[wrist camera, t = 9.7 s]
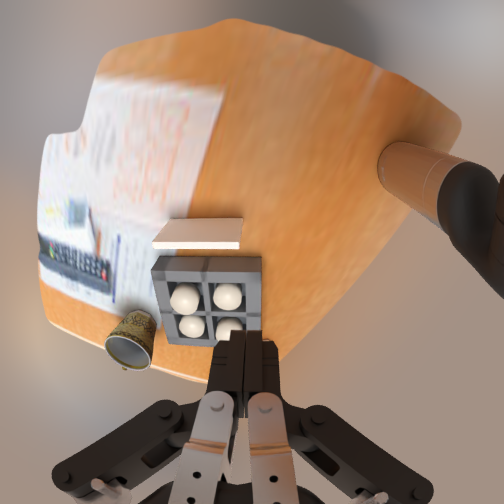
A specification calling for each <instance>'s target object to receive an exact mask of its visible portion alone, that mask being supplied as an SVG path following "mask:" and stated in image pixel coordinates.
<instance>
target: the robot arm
mask: <svg viewBox="0 0 504 504" xmlns="http://www.w3.org/2000/svg"><path fill="white" fill-rule="evenodd" d="M378 176H379V179H380V182H381V184H382V185H383V187H384V188H385V189H386V190H387V191H388V192H390V193H391V194H393V195H394V196H396V197H397V198H399V199H400V200H401V201H403V202H404V203H406V204H407V205H409V206H410V207H411V208H413V209H414V210H416V211H417V212H418V213H420V214H421V215H422V216H424V217H425V218H427V219H428V220H429V221H430V222H432V223H433V224H435V225H436V226H437V227H438V228H440V229H441V230H442V231H444V232H445V233H446V234H447V235H449V238H450V240H451V242H452V244H453V246H454V247H455V248H456V249H457V250H458V251H459V252H460V253H461V255H462V256H463V257H464V258H465V259H466V260H467V261H468V262H469V263H470V264H471V265H472V266H473V267H474V268H475V269H476V271H477V272H478V273H479V274H480V275H481V276H482V277H483V279H484V280H485V281H486V282H487V283H488V284H489V285H490V286H491V287H492V288H493V289H494V290H495V291H496V292H497V293H498V294H499V295H500V296H501V297H502V298H503V299H504V175H503V176H502V177H501V179H500V183H498V181H497V179H496V178H495V176H494V175H493V174H492V172H491V171H490V170H488V169H487V168H485V167H483V166H481V165H479V164H476V163H473V162H470V161H467V160H464V159H461V158H459V157H455V156H452V155H449V154H446V153H443V152H439V151H436V150H433V149H429V148H425V147H422V146H418V145H415V144H411V143H407V142H395V143H392V144H391V145H389V146H388V147H387V148H386V149H385V150H384V151H383V152H382V154H381V156H380V158H379V162H378ZM244 409H245V418H248V424H249V445H250V464H251V481H252V482H251V483H246V484H240V485H234V484H230V481H231V468H232V461H233V455H234V448H235V442H236V436H237V430H238V420H239V418H243V417H244ZM291 449H294V450H295V451H296V452H297V453H298V454H299V455H300V456H301V457H302V458H303V459H304V460H305V461H307V462H308V463H309V464H310V465H311V466H312V467H313V468H315V469H316V470H317V471H318V472H319V473H320V474H321V475H323V476H324V477H325V478H326V479H327V480H329V481H330V482H331V483H332V484H334V485H335V486H336V487H337V488H339V489H340V490H341V491H342V492H344V493H345V494H346V495H347V496H349V497H350V498H351V499H352V500H351V501H350V503H349V504H428V503H429V502H430V500H431V499H432V496H433V493H434V489H433V485H432V483H431V482H430V481H429V480H427V479H426V478H424V477H422V476H421V475H419V474H418V473H416V472H415V471H413V470H412V469H410V468H408V467H407V466H406V465H404V464H403V463H401V462H400V461H398V460H397V459H396V458H394V457H393V456H391V455H390V454H388V453H387V452H386V451H384V450H383V449H381V448H380V447H379V446H377V445H376V444H374V443H373V442H372V441H370V440H369V439H368V438H367V437H365V436H364V435H362V434H361V433H360V432H359V431H357V430H356V429H355V428H353V427H352V426H351V425H349V424H348V423H347V422H345V421H344V420H343V419H342V418H341V417H339V416H338V415H337V414H336V413H334V412H333V411H332V410H331V409H329V408H327V407H326V406H322V405H314V406H310V407H308V408H306V409H303V408H299V407H295V406H292V405H290V404H288V403H287V402H286V401H285V400H284V399H283V398H282V396H281V392H280V376H279V359H278V348H277V346H276V345H275V343H274V342H273V341H262V330H247V340H246V330H231V331H230V339H229V340H219V342H218V343H217V344H216V346H215V347H214V350H213V356H212V362H211V367H210V373H209V379H208V385H207V390H206V393H205V395H204V396H203V397H202V398H201V399H200V400H199V401H197V402H194V403H191V404H185V405H180V406H179V405H178V404H177V403H175V402H174V401H171V400H160V401H158V402H156V403H154V404H153V405H151V406H150V407H148V408H147V409H145V410H144V411H143V412H141V413H139V414H138V415H136V416H135V417H134V418H132V419H131V420H129V421H128V422H126V423H124V424H123V425H121V426H120V427H118V428H117V429H115V430H114V431H112V432H111V433H109V434H108V435H106V436H105V437H103V438H101V439H99V440H98V441H96V442H95V443H93V444H91V445H90V446H88V447H87V448H85V449H83V450H81V451H80V452H78V453H76V454H74V455H73V456H71V457H69V458H68V459H66V460H64V461H62V462H60V463H59V464H57V465H56V466H55V467H54V468H53V470H52V480H53V482H54V484H55V485H56V487H57V488H59V489H60V490H62V491H64V492H66V493H68V494H69V495H71V496H72V497H73V498H74V500H75V501H76V503H77V504H130V502H131V499H132V496H131V492H130V490H131V489H133V488H134V487H136V486H137V485H139V484H140V483H142V482H143V481H145V480H146V479H148V478H149V477H151V476H152V475H153V474H155V473H156V472H158V471H159V470H160V469H162V468H163V467H164V466H166V465H167V464H169V463H170V462H171V461H173V460H174V459H175V458H176V457H178V456H179V455H181V457H180V461H179V465H178V468H177V472H176V476H175V479H174V481H172V482H169V483H167V484H165V485H163V486H161V487H160V488H159V489H157V490H156V491H155V492H154V493H152V494H151V495H149V496H148V497H147V498H146V499H144V500H142V501H141V502H140V503H138V504H325V503H324V502H323V501H321V500H320V499H319V498H318V497H317V496H316V495H315V494H313V493H312V492H310V491H309V490H307V489H305V488H303V487H300V486H298V485H296V478H295V471H294V465H293V458H292V451H291Z"/></svg>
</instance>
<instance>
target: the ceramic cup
mask: <svg viewBox="0 0 504 504" xmlns="http://www.w3.org/2000/svg"><path fill="white" fill-rule="evenodd" d="M155 331H156V322H155V321H154V319H153V318H152V316H151V315H150V314H148V313H146V312H144V311H141V310H137V311H133V312H130V313H129V314H128V315H127V316H126V317H125V318H124V319H123V321H122V322H121V323H120V324H119V325H118V326H117V327H116V328H115V329H114V330H113V331H112V332H111V333H110V335H109V336H108V337H107V339H106V340H105V343H104V346H105V350H106V352H107V354H108V355H109V356H110V357H111V358H112V359H113V360H114V361H115V362H116V363H118V364H119V365H121V366H122V368H123V370H127V369H130V370H135V371H141V370H146V369H147V368H149V367H150V365H151V361H152V355H153V343H154V337H155Z"/></svg>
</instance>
